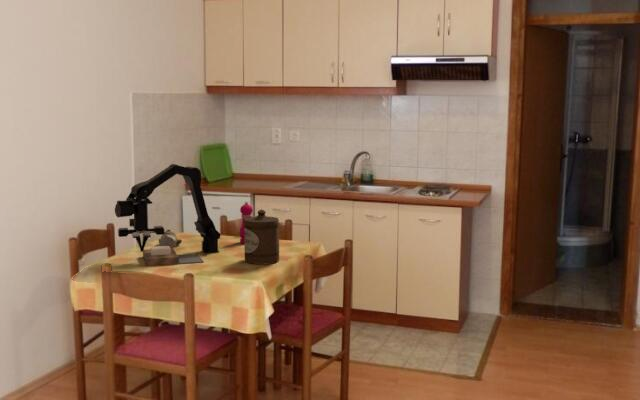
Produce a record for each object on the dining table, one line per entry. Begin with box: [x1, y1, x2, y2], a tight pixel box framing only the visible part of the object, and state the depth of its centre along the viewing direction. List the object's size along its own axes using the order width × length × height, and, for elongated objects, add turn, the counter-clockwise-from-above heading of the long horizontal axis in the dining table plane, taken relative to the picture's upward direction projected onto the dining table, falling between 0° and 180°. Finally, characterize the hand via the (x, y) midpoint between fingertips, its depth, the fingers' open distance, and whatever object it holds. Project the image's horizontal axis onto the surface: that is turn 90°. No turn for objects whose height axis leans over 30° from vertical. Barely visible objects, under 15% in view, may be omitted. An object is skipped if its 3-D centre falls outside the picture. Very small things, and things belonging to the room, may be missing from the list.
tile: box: [149, 245, 171, 256], centre depth 313 cm, size 8×6×2 cm
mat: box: [177, 253, 205, 265], centre depth 316 cm, size 10×16×1 cm, turn 18°
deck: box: [142, 247, 180, 267], centre depth 313 cm, size 13×18×3 cm
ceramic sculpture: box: [158, 229, 182, 249], centre depth 340 cm, size 11×9×15 cm
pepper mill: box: [238, 201, 254, 245], centre depth 351 cm, size 7×7×20 cm
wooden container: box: [243, 209, 280, 265], centre depth 313 cm, size 15×15×22 cm
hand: (141, 251), depth 311 cm, fingers closed
